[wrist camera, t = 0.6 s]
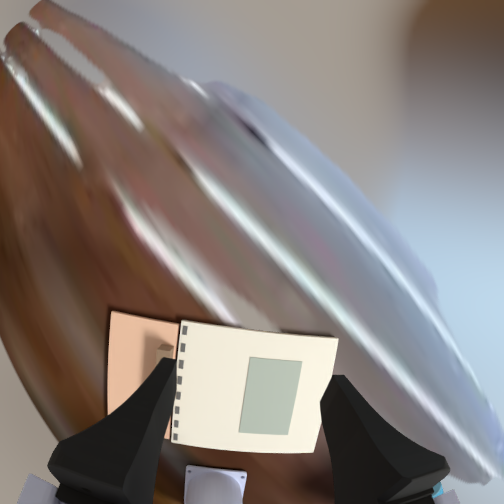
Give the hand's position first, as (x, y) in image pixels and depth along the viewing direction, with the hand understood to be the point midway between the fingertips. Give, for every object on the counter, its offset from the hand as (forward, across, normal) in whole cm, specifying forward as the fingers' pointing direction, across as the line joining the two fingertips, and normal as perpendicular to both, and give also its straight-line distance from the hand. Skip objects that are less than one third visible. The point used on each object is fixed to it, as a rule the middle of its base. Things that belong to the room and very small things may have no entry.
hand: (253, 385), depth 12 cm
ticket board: (+14, -3, +17) cm, 22 cm away
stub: (+14, +10, +17) cm, 24 cm away
